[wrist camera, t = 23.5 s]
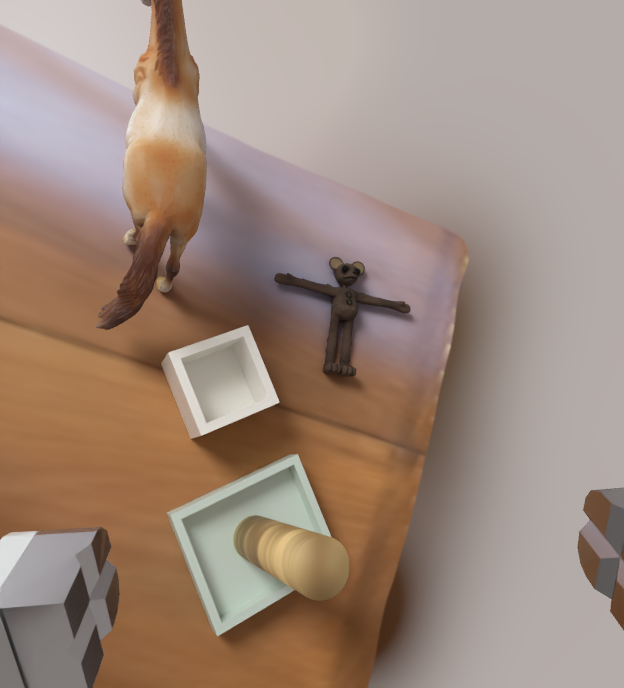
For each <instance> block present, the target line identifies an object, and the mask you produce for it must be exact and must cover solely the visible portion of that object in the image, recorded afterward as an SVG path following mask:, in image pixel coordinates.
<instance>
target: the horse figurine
mask: <svg viewBox="0 0 624 688" xmlns="http://www.w3.org/2000/svg"><path fill="white" fill-rule="evenodd" d="M141 1H142V3H143V4H145V5H147V6H151V5H152V16H151V29H150V39H149V45H148V49H147V51H146V52H145V53H144V54H142V55H141V57H140V59H139V61H138V63H137V65H136V67H135V69H134V79H135V84H136V86H135V88H134V90H133V99H134V102H135V104H136V108H135V110H134V112H133V114H132V116H131V118H130V121H129V124H128V128H127V132H126V149H127V150H126V153H125V157H124V164H123V186H122V189H123V196H124V199H125V201H126V203H127V205H128V207H129V209H130V211H131V216H132V219H133V223H134V225H135V228H136V229H130V230H129V231H128V232H127V233H126V234H125V237H124V238H123V242H124V244H127V245H135V244H136V252H135V255H134V257H133V263H132V266H131V267H130V269H129V271H128V273H127V275H126V276H125V277H124V279H123V281H122V283H121V284H120V289H119V290H118V291H117V293H118V296H117V297H116V298H115V299H114V300H113V301H112V302H110V303H109V304H107V305H105V306H103V307H102V310H103V311H102V312H101V313H99V315H98V317H99V318H102V320H101V321H100V322H99V323H98V324H97V325H96V327H97V328H101V329H106V330H108V329H111V328H114V327H116V326H118V325H119V324H121V323H123V322H125V321H126V320H128V319H129V318H131V317H132V316H134V315H135V314H136V313H137V312H138V311H139V310H140V308H141V307H142V305H143V303H144V301H145V300H146V299H147V298H148V296H149V295H150V293H151V292H152V290H153V287H154V282H155V280H156V277H157V270H158V264H159V262H160V259H161V257H162V255H163V251H164V248H165V245H166V242H167V241H168V239H169V236H170V245H171V248H170V249H171V254H170V257H169V260H168V262H167V265H166V270H167V275H166V277H164V276H160V277H158V278H157V280H156V286H157V289H158V290H159V291H160V292H168V291H170V289H171V288H172V280H173V278H174V277H175V276H176V275H177V274H178V272H179V269H180V263H179V259H180V257H181V255H182V253H183V251H184V249H185V247H186V245H187V242H189V240H190V239H191V238H192V237H193V236H194V235H195V233H196V232H197V229H198V225H199V222H200V218H201V215H202V209H203V203H204V196H205V188H206V172H207V164H206V158H205V151H206V137H205V131H204V127H203V124H202V121H201V117H200V111H199V104H198V94H199V71H198V66H197V64H196V63H195V61H194V59H193V57H192V56H191V55H190V52H189V47H188V42H187V36H186V29H185V22H184V15H183V7H182V0H141Z"/></svg>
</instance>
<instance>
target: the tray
mask: <svg viewBox="0 0 624 688" xmlns="http://www.w3.org/2000/svg"><path fill="white" fill-rule="evenodd" d="M167 515H168V518H169V520H170V523H171V525H172V528H173V531H174V533H175V536H176V538H177V541H178V543H179V546H180V549H181V551H182V554H183V556H184V559H185V561H186V564H187V567H188V569H189V572H190V574H191V577H192V579H193V582H194V585H195V587H196V590H197V592H198V595H199V597H200V600H201V603H202V605H203V608H204V610H205V613H206V615H207V618H208V621H209V623H210V626H211V628H212V630H213V631H214V632H215V634H216V635H217V636H219V635H221V634H222V633H224V632H226V631H227V630H229V629H231V628H232V627H234V626H236V625H237V624H239V623H241V622H242V621H244V620H246V619H247V618H249V617H251V616H252V615H254V614H256V613H257V612H259V611H261V610H262V609H264V608H266V607H267V606H269V605H271V604H272V603H274V602H276V601H277V600H279V599H281V598H282V597H284V596H286V595H287V594H289V593H291V592H292V591H294V589H293V588H291V587H289V586H288V585H286V584H285V583H283V582H281V581H280V580H278V579H276V578H275V577H273V576H272V575H270V574H268V573H267V572H265V571H264V570H262V569H260V568H259V567H257V566H255V565H254V564H252V563H251V562H249V561H247V560H246V559H244V558H242V557H241V556H240V555H239V554H238V553H237V551H236V549H235V547H234V541H233V538H234V532H235V530H236V527H237V526H238V524H239V523H240V522H241V521H242V520H243V519H245V518H247V517H249V516H253V515H258V516H262V517H266V518H269V519H272V520H276V521H279V522H282V523H286V524H289V525H293V526H296V527H299V528H303V529H306V530H309V531H313V532H316V533H319V534H323V535H326V536H329V537H331V535H330V532H329V530H328V527H327V525H326V523H325V520H324V518H323V515H322V513H321V510H320V508H319V505H318V503H317V500H316V498H315V496H314V493H313V491H312V488H311V486H310V483H309V481H308V478H307V476H306V473H305V471H304V468H303V466H302V464H301V461H300V459H299V456H298V454H292V455H287V456H285V457H283V458H281V459H279V460H277V461H275V462H273V463H270V464H268V465H266V466H264V467H262V468H260V469H258V470H256V471H254V472H251V473H249V474H247V475H245V476H243V477H241V478H239V479H237V480H235V481H233V482H230V483H228V484H226V485H224V486H222V487H220V488H218V489H216V490H214V491H211V492H209V493H207V494H205V495H203V496H201V497H199V498H197V499H195V500H193V501H190V502H188V503H186V504H184V505H182V506H180V507H178V508H176V509H174V510H171V511H169V512H167Z"/></svg>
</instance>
